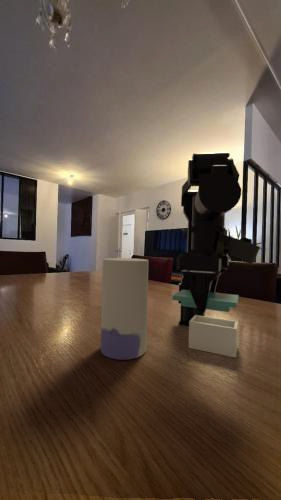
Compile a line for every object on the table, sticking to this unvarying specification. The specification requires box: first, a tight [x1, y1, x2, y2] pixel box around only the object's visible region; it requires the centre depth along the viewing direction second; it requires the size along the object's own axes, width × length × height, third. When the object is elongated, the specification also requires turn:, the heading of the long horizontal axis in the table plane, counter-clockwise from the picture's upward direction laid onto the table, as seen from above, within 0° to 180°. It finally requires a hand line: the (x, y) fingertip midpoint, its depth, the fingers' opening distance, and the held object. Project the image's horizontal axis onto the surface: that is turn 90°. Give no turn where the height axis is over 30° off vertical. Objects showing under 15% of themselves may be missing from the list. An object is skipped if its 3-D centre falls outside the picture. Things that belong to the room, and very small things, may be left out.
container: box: [100, 257, 149, 361], centre depth 50 cm, size 10×10×20 cm
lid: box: [171, 290, 239, 313], centre depth 41 cm, size 11×7×2 cm
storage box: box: [188, 315, 239, 358], centre depth 52 cm, size 10×6×6 cm, turn 64°
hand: (205, 307), depth 41 cm, fingers closed on lid, 7 cm apart
